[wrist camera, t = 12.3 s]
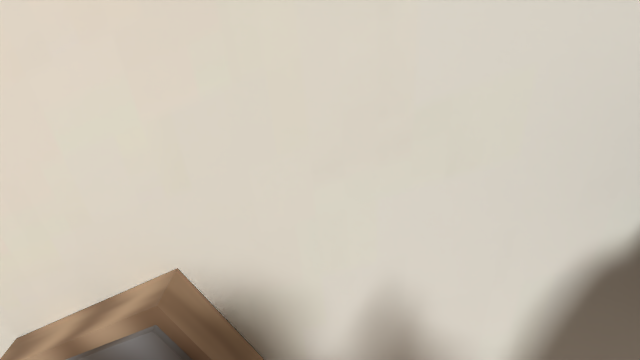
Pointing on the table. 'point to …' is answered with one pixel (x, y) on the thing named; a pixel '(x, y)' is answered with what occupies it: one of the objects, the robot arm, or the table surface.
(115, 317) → the walnut pedestal
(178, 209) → the table surface
